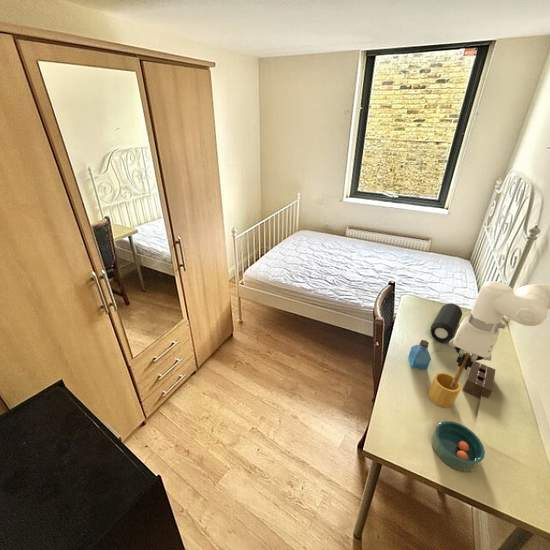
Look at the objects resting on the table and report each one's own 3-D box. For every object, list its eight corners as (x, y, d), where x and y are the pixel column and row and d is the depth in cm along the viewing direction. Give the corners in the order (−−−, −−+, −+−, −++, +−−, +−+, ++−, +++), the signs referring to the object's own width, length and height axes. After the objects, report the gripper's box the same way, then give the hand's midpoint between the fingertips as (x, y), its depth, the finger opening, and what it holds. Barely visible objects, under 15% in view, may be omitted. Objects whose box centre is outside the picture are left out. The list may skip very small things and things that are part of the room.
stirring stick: (454, 385, 101) (470, 353, 93) (455, 388, 100) (470, 356, 92) (450, 384, 102) (465, 351, 93) (450, 387, 101) (465, 354, 92)
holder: (490, 379, 120) (495, 369, 117) (486, 401, 111) (492, 391, 108) (467, 370, 124) (472, 359, 121) (462, 390, 115) (467, 379, 112)
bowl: (481, 447, 95) (487, 437, 93) (475, 482, 86) (481, 473, 83) (436, 422, 103) (440, 413, 100) (426, 453, 93) (431, 444, 91)
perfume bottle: (411, 367, 125) (419, 346, 119) (408, 357, 130) (414, 336, 124) (426, 369, 124) (435, 348, 118) (422, 359, 129) (430, 338, 124)
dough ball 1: (454, 441, 95) (457, 451, 94) (459, 441, 93) (462, 452, 91) (463, 441, 95) (467, 451, 94) (469, 440, 93) (472, 451, 91)
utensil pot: (455, 396, 112) (463, 380, 108) (450, 412, 106) (459, 395, 102) (431, 384, 117) (437, 368, 113) (425, 399, 111) (432, 383, 107)
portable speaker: (448, 347, 136) (455, 330, 132) (426, 338, 142) (432, 321, 137) (459, 321, 154) (465, 306, 149) (439, 314, 159) (444, 298, 154)
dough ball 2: (470, 462, 89) (469, 458, 88) (460, 464, 90) (458, 459, 89) (465, 452, 92) (464, 447, 91) (455, 454, 93) (453, 449, 91)
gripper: (515, 325, 85) (491, 370, 94) (455, 305, 93) (438, 348, 102) (515, 338, 80) (489, 385, 89) (451, 317, 88) (434, 361, 97)
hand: (462, 365), depth 95 cm, fingers closed on stirring stick, 1 cm apart
